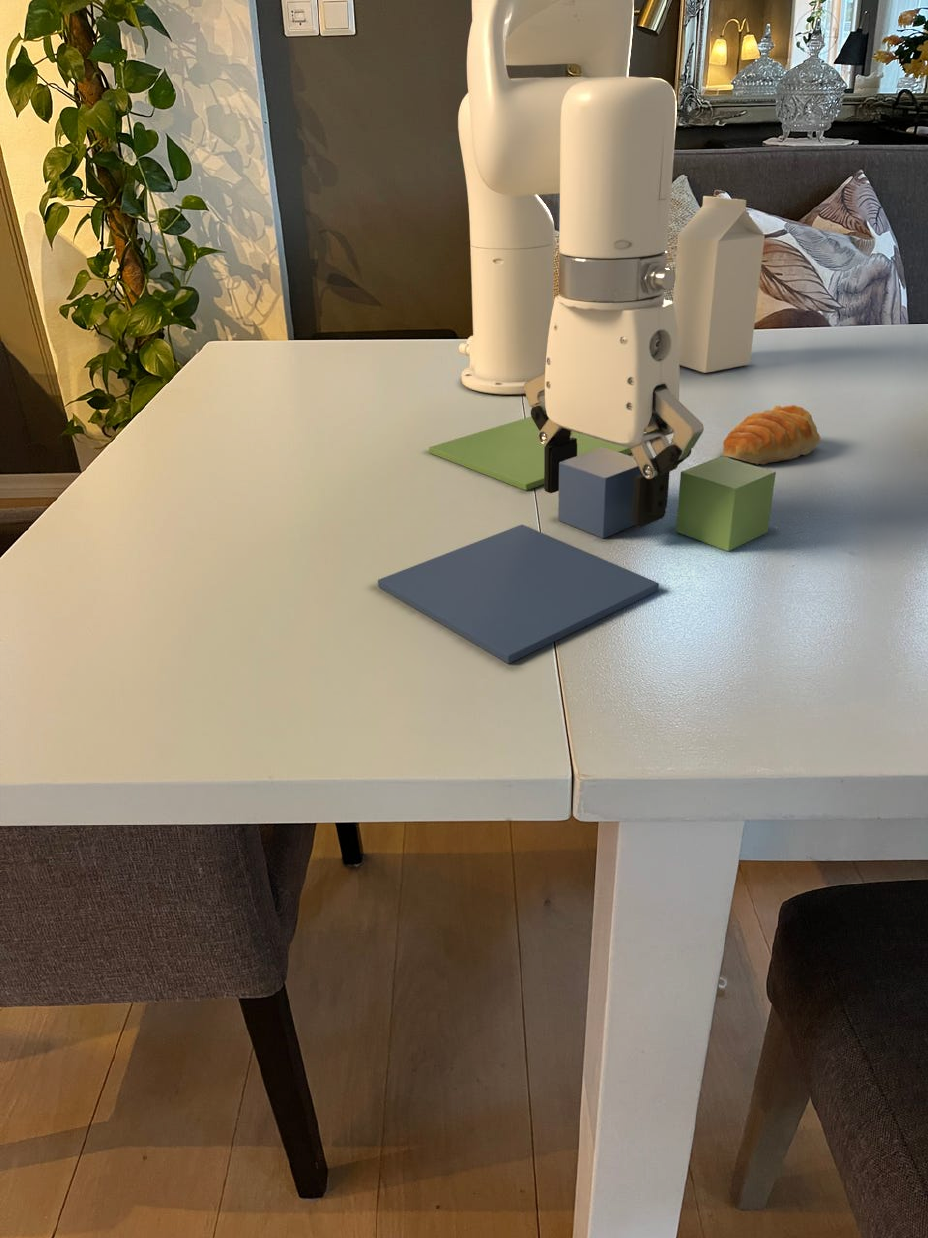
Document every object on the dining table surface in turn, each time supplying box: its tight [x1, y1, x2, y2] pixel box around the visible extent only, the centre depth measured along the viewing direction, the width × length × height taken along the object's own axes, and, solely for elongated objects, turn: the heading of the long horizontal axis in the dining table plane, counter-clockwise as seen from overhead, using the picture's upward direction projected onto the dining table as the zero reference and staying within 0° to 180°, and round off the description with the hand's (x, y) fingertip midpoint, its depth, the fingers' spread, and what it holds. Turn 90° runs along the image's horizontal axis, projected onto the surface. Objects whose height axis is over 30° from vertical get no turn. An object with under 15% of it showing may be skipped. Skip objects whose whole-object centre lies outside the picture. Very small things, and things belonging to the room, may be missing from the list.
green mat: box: [428, 416, 632, 492], centre depth 89 cm, size 14×14×1 cm
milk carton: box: [672, 195, 766, 374], centre depth 110 cm, size 7×7×19 cm
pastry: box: [722, 404, 821, 466], centre depth 86 cm, size 9×7×4 cm
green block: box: [675, 455, 777, 552], centre depth 71 cm, size 5×5×5 cm
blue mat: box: [377, 524, 660, 665], centre depth 65 cm, size 14×14×1 cm
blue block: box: [557, 447, 642, 539], centre depth 73 cm, size 5×5×5 cm
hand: (602, 504), depth 74 cm, fingers open, 9 cm apart
